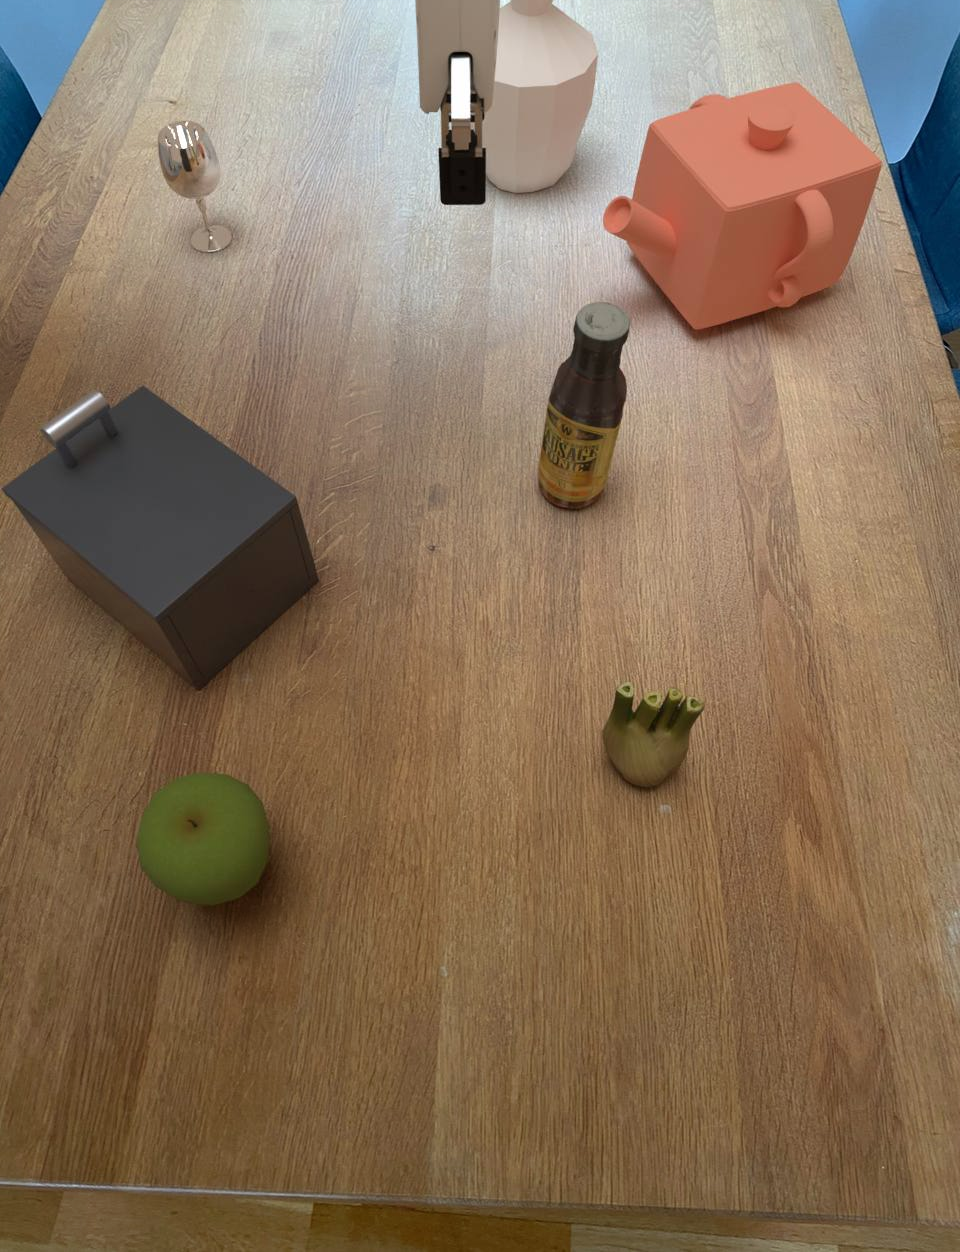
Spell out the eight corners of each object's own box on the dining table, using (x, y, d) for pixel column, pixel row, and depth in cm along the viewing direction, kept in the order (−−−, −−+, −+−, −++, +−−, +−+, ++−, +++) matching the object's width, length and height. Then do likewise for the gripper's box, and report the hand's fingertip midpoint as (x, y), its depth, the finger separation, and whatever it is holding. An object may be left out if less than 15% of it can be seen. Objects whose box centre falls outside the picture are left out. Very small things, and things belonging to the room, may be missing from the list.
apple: (301, 905, 67) (271, 860, 57) (184, 946, 66) (132, 907, 56) (273, 796, 71) (240, 735, 61) (162, 832, 70) (109, 776, 60)
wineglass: (207, 264, 101) (176, 160, 91) (173, 239, 103) (139, 135, 92) (248, 238, 103) (223, 133, 93) (215, 214, 105) (186, 110, 95)
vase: (556, 125, 113) (574, -121, 92) (604, 196, 107) (637, -51, 85) (444, 150, 111) (436, -96, 89) (487, 224, 104) (490, -23, 83)
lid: (5, 494, 72) (-26, 450, 67) (145, 391, 77) (125, 344, 73) (158, 623, 66) (135, 584, 62) (298, 502, 71) (286, 459, 67)
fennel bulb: (589, 759, 73) (608, 692, 62) (627, 715, 75) (651, 642, 64) (651, 806, 71) (680, 745, 60) (688, 760, 73) (723, 692, 62)
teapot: (646, 393, 92) (681, 236, 76) (544, 252, 102) (557, 88, 86) (859, 320, 97) (931, 159, 81) (741, 192, 107) (786, 28, 92)
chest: (67, 578, 81) (12, 501, 71) (188, 481, 86) (153, 397, 77) (198, 691, 76) (158, 623, 66) (319, 580, 81) (298, 503, 71)
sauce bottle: (523, 493, 86) (535, 323, 68) (560, 449, 88) (581, 275, 71) (585, 526, 84) (613, 361, 67) (620, 481, 86) (656, 310, 69)
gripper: (399, -180, 59) (415, 91, 74) (387, -37, 50) (408, 237, 65) (519, -180, 59) (511, 91, 74) (528, -37, 50) (517, 237, 65)
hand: (463, 159), depth 69 cm, fingers open, 9 cm apart
